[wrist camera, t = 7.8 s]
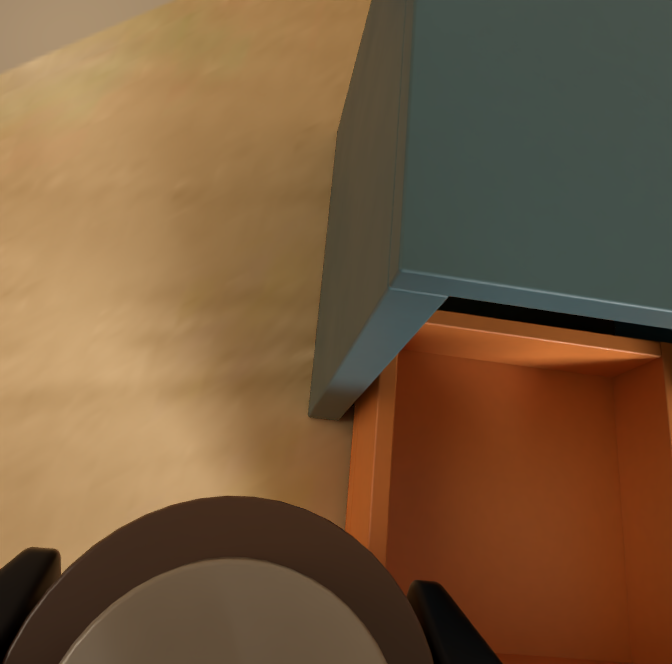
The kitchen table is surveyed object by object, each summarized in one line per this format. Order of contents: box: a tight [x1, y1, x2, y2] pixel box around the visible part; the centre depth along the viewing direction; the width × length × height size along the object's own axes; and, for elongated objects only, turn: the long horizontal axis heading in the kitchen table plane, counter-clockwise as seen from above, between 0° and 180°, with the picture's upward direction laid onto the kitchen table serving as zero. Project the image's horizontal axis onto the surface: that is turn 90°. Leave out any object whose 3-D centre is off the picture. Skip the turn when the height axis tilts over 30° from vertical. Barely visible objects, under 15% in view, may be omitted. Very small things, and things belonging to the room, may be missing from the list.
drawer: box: [345, 309, 672, 664], centre depth 19 cm, size 13×11×8 cm
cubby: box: [308, 0, 672, 420], centre depth 20 cm, size 13×14×13 cm
